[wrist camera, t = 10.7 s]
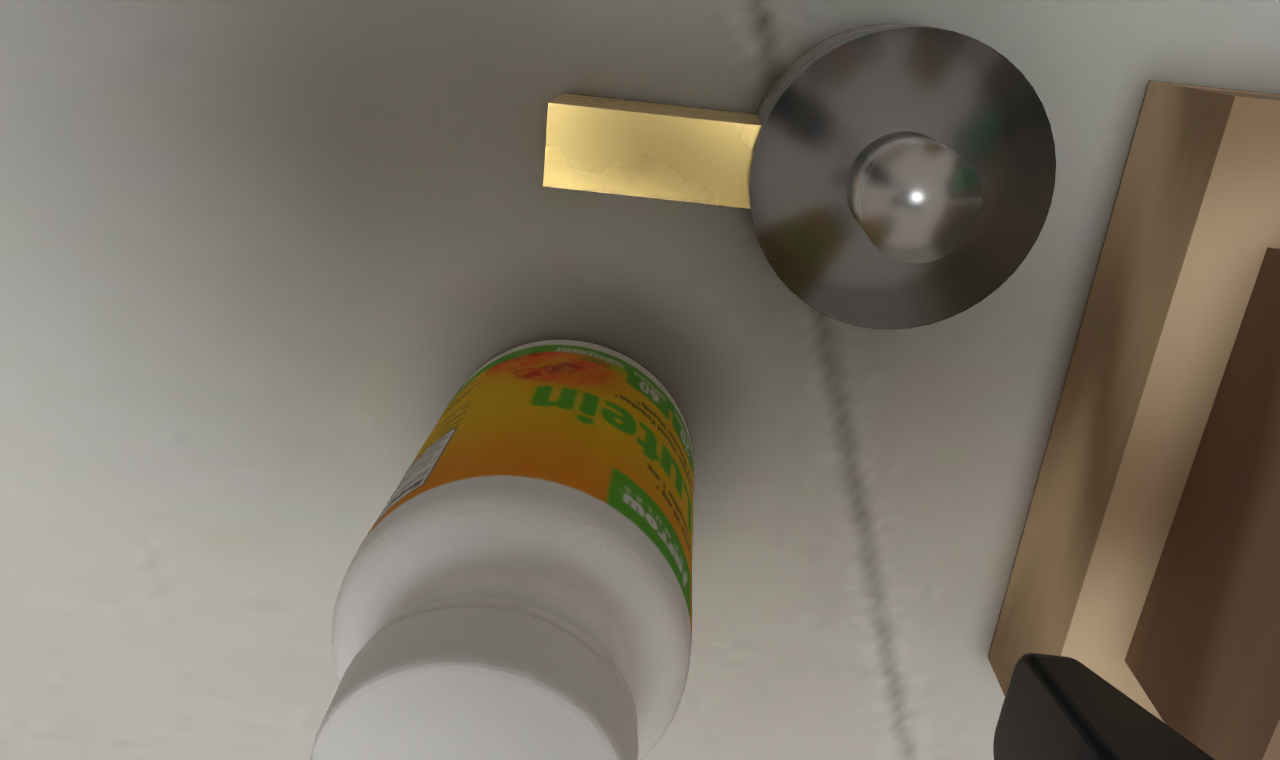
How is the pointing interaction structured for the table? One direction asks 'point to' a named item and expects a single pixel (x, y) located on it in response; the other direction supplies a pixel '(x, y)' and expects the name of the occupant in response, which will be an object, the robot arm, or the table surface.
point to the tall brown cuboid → (1225, 561)
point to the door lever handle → (847, 169)
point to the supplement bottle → (525, 574)
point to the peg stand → (1144, 374)
